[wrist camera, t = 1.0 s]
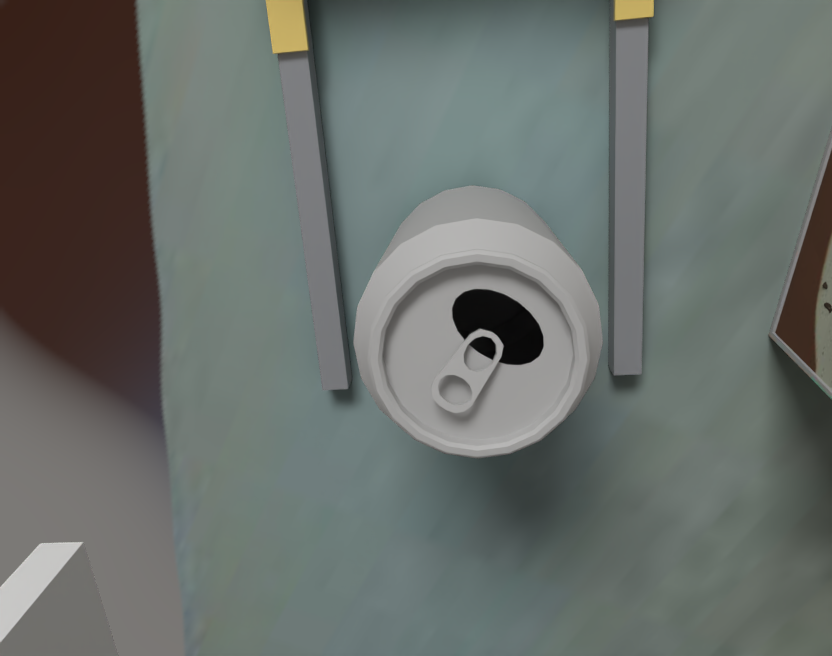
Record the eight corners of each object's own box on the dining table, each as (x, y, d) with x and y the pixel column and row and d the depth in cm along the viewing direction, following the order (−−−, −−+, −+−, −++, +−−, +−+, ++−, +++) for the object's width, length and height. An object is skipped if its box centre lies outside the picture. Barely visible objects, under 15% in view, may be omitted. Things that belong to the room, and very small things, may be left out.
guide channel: (637, 364, 31) (676, 421, 25) (325, 380, 32) (295, 438, 26) (648, -271, 24) (707, -394, 18) (246, -217, 25) (182, -316, 19)
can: (591, 248, 29) (673, 333, 18) (489, 377, 31) (505, 526, 20) (452, 148, 28) (445, 170, 17) (357, 287, 31) (294, 390, 19)
